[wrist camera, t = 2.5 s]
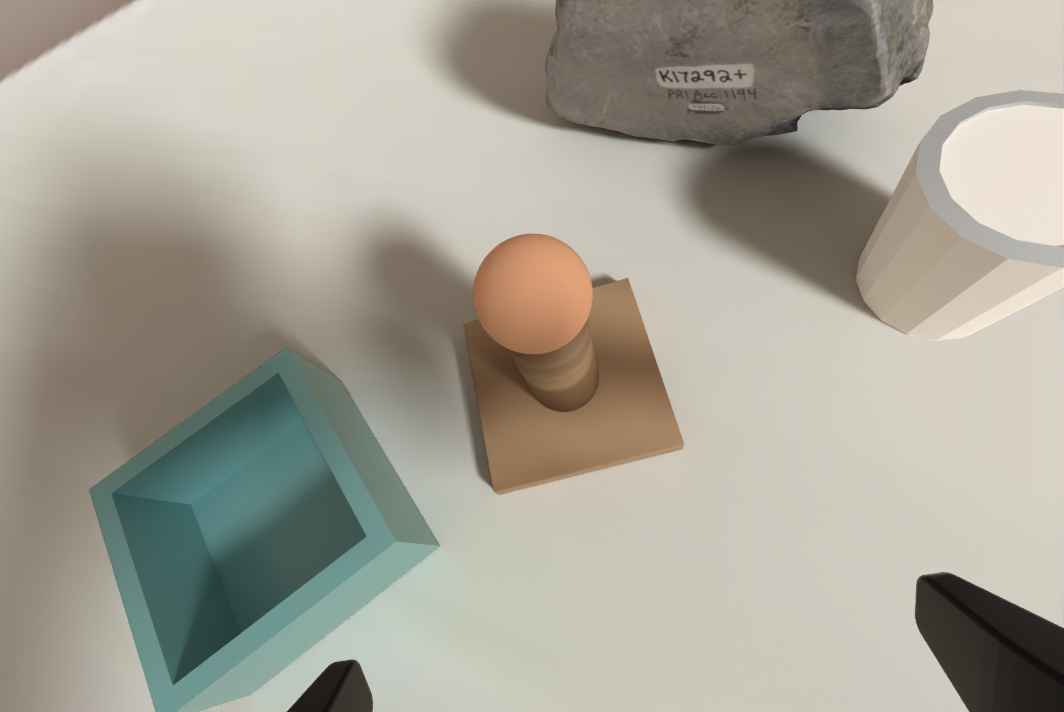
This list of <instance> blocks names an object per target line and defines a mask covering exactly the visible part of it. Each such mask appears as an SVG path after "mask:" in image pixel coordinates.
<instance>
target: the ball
mask: <svg viewBox="0 0 1064 712" xmlns="http://www.w3.org/2000/svg"><path fill="white" fill-rule="evenodd" d="M592 300H593V288H592V282H591V278H590V275H589V272H588V269H587V267H586V265H585V264H584V262H583V260H582V259H581V258H580V256H579V255H578V254H577V253H576V252H575V251H574V250H573V249H572V248H571V247H570V246H568V245H567V244H565V243H564V242H562V241H560V240H558V239H556V238H554V237H551V236H547V235H542V234H524V235H519V236H515V237H512V238H510V239H507V240H506V241H504V242H502V243H500V244H499V245H498V246H496V247H495V248H494V249H493V250H492V251H491V252H490V253H489V254H488V255H487V256H486V257H485V259H484V260H483V262H482V263H481V265H480V267H479V269H478V272H477V274H476V277H475V281H474V289H473V301H474V306H475V311H476V314H477V317H478V319H479V321H480V323H481V325H482V326H483V328H484V329H485V331H486V332H487V333H488V334H489V335H490V336H491V337H492V338H493V339H494V340H495V341H496V342H498V343H499V344H500V345H502V346H504V347H506V348H507V349H510V350H512V351H515V352H519V353H524V354H542V353H547V352H551V351H554V350H556V349H558V348H560V347H562V346H564V345H566V344H567V343H568V342H570V341H571V340H572V339H573V338H574V337H575V336H576V335H577V334H578V333H579V332H580V330H581V329H582V328H583V326H584V324H585V323H586V321H587V319H588V316H589V313H590V310H591V306H592Z"/></svg>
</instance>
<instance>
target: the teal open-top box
mask: <svg viewBox="0 0 1064 712" xmlns="http://www.w3.org/2000/svg"><path fill="white" fill-rule="evenodd" d="M89 491H90V495H91V498H92V501H93V505H94V508H95V511H96V515H97V518H98V521H99V525H100V528H101V531H102V535H103V538H104V541H105V545H106V548H107V551H108V555H109V558H110V561H111V565H112V568H113V571H114V575H115V578H116V581H117V585H118V588H119V591H120V595H121V598H122V601H123V605H124V608H125V611H126V615H127V618H128V621H129V625H130V628H131V631H132V635H133V638H134V641H135V645H136V648H137V651H138V655H139V658H140V661H141V664H142V668H143V671H144V674H145V678H146V681H147V684H148V688H149V691H150V694H151V698H152V701H153V704H154V708H155V711H156V712H199V711H202V710H205V709H208V708H211V707H214V706H217V705H220V704H223V703H226V702H229V701H232V700H235V699H238V698H241V697H244V696H247V695H250V694H252V693H253V692H254V691H256V690H257V689H258V688H259V687H261V686H262V685H263V684H265V683H266V682H267V681H268V680H270V679H271V678H272V677H273V676H275V675H276V674H277V673H279V672H280V671H281V670H282V669H284V668H285V667H286V666H288V665H289V664H290V663H291V662H293V661H294V660H295V659H296V658H298V657H299V656H300V655H302V654H303V653H304V652H305V651H307V650H308V649H309V648H311V647H312V646H313V645H314V644H316V643H317V642H318V641H319V640H321V639H322V638H323V637H325V636H326V635H327V634H328V633H330V632H331V631H332V630H334V629H335V628H336V627H337V626H339V625H340V624H341V623H342V622H344V621H345V620H346V619H348V618H349V617H350V616H351V615H353V614H354V613H355V612H356V611H358V610H359V609H360V608H362V607H363V606H364V605H365V604H367V603H368V602H369V601H371V600H372V599H373V598H374V597H376V596H377V595H378V594H379V593H381V592H382V591H383V590H385V589H386V588H387V587H388V586H390V585H391V584H392V583H394V582H395V581H396V580H397V579H399V578H400V577H401V576H402V575H404V574H405V573H406V572H408V571H409V570H410V569H411V568H413V567H414V566H415V565H417V564H418V563H419V562H420V561H422V560H423V559H424V558H425V557H427V556H428V555H429V554H431V553H432V552H433V551H434V550H436V549H437V548H438V547H440V545H439V543H438V541H437V540H436V538H435V536H434V535H433V533H432V531H431V530H430V528H429V526H428V525H427V523H426V521H425V520H424V518H423V516H422V515H421V513H420V511H419V510H418V508H417V506H416V505H415V503H414V501H413V500H412V498H411V496H410V495H409V493H408V491H407V490H406V488H405V486H404V485H403V483H402V481H401V480H400V478H399V476H398V475H397V473H396V471H395V470H394V468H393V466H392V465H391V463H390V461H389V460H388V458H387V456H386V454H385V453H384V451H383V449H382V448H381V446H380V444H379V443H378V441H377V439H376V438H375V436H374V434H373V433H372V431H371V429H370V428H369V426H368V424H367V423H366V421H365V419H364V418H363V416H362V414H361V413H360V411H359V409H358V408H357V406H356V404H355V403H354V401H353V399H352V398H351V396H350V394H349V393H348V391H347V389H346V388H345V386H344V384H343V383H342V381H340V380H339V379H337V378H335V377H334V376H332V375H331V374H329V373H328V372H326V371H324V370H323V369H321V368H320V367H318V366H316V365H315V364H313V363H312V362H310V361H308V360H307V359H305V358H304V357H302V356H301V355H299V354H297V353H296V352H294V351H293V350H291V349H289V348H288V347H286V348H285V349H284V350H282V351H281V352H279V353H278V354H277V355H275V356H274V357H272V358H271V359H270V360H268V361H267V362H265V363H264V364H263V365H261V366H260V367H259V368H257V369H256V370H254V371H253V372H252V373H250V374H249V375H247V376H246V377H245V378H243V379H242V380H240V381H239V382H238V383H236V384H235V385H234V386H232V387H231V388H229V389H228V390H227V391H225V392H224V393H222V394H221V395H220V396H218V397H217V398H216V399H214V400H213V401H211V402H210V403H209V404H207V405H206V406H204V407H203V408H202V409H200V410H199V411H197V412H196V413H195V414H193V415H192V416H191V417H189V418H188V419H186V420H185V421H184V422H182V423H181V424H179V425H178V426H177V427H175V428H174V429H172V430H171V431H170V432H168V433H167V434H166V435H164V436H163V437H161V438H160V439H159V440H157V441H156V442H154V443H153V444H152V445H150V446H149V447H147V448H146V449H145V450H143V451H142V452H141V453H139V454H138V455H136V456H135V457H134V458H132V459H131V460H129V461H128V462H127V463H125V464H124V465H122V466H121V467H120V468H118V469H117V470H116V471H114V472H113V473H111V474H110V475H109V476H107V477H106V478H104V479H103V480H102V481H100V482H99V483H98V484H96V485H95V486H93V487H92V488H91V489H89Z"/></svg>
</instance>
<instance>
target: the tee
mask: <svg viewBox="0 0 1064 712" xmlns="http://www.w3.org/2000/svg"><path fill="white" fill-rule="evenodd" d="M464 329H465V335H466V340H467V346H468V351H469V357H470V362H471V368H472V374H473V379H474V385H475V390H476V396H477V401H478V407H479V413H480V418H481V424H482V429H483V435H484V440H485V446H486V451H487V457H488V463H489V468H490V474H491V479H492V485H493V490H494V492H495V493H497V494H499V495H500V494H504V493H508V492H512V491H516V490H520V489H524V488H528V487H532V486H536V485H540V484H544V483H548V482H552V481H556V480H560V479H564V478H568V477H572V476H576V475H580V474H584V473H588V472H592V471H596V470H600V469H604V468H608V467H612V466H616V465H620V464H624V463H628V462H632V461H636V460H640V459H644V458H648V457H652V456H656V455H660V454H664V453H668V452H672V451H676V450H680V449H682V447H683V445H684V443H683V440H682V437H681V434H680V431H679V428H678V425H677V422H676V419H675V416H674V413H673V410H672V407H671V404H670V401H669V398H668V395H667V392H666V389H665V386H664V383H663V380H662V377H661V374H660V372H659V369H658V366H657V363H656V360H655V357H654V354H653V351H652V348H651V345H650V342H649V339H648V336H647V333H646V330H645V327H644V324H643V321H642V318H641V315H640V312H639V309H638V306H637V303H636V300H635V297H634V295H633V292H632V289H631V286H630V283H629V280H628V278H626V279H622V280H619V281H615V282H612V283H608V284H605V285H601V286H597V287H594V288H593V300H592V306H591V310H590V313H589V316H588V319H587V321H586V323H585V324H584V326H583V328H582V329H581V330H580V332H579V333H578V334H577V335H576V336H575V337H574V338H573V339H572V340H571V341H570V342H568V343H567V344H566V345H564V346H562V347H560V348H558V349H556V350H554V351H551V352H547V353H542V354H524V353H519V352H515V351H512V350H510V349H507V348H506V347H504V346H502V345H500V344H499V343H498V342H496V341H495V340H494V339H493V338H492V337H491V336H490V335H489V334H488V333H487V332H486V331H485V329H484V328H483V326H482V325H481V323H480V321H479V320H476V321H473V322H469V323H466V324H464Z"/></svg>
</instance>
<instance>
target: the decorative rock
mask: <svg viewBox="0 0 1064 712" xmlns="http://www.w3.org/2000/svg"><path fill="white" fill-rule="evenodd" d="M932 12H933V0H556V9H555V13H556V20H557V26H558V30H557V31H556V33H555V35H554V37H553V39H552V42H551V46H550V49H549V52H548V55H547V58H546V62H545V70H546V73H547V82H548V92H547V95H546V102H547V104H548V107H549V108H550V109H551V110H552V111H553V112H554V113H555V114H556V115H557V116H560V117H562V118H564V119H566V120H568V121H571V122H573V123H576V124H584V125H589V126H593V127H601V128H606V129H610V130H615V131H620V132H622V133H625V134H627V135H631V136H636V137H646V138H654V139H662V140H668V141H678V140H692V141H697V142H702V143H709V144H724V145H731V144H736V143H741V142H745V141H748V140H751V139H753V138H757V137H762V136H771V135H779V134H785V133H790V132H794V131H797V122H798V120H799V119H800V117H801V115H802V114H804V113H806V112H808V111H811V110H846V109H869V108H875V107H878V106H880V105H881V104H883V103H884V102H886V101H887V100H889V99H890V98H891V97H893V95H894V94H895V92H896V91H897V90H898V87H899V86H900V85H903V84H905V83H909V82H911V81H913V80H915V79H917V78H918V76H919V74H920V73H921V71H922V67H923V63H924V60H925V56H926V51H927V48H928V43H929V37H930V33H929V28H928V23H929V20H930V18H931V15H932Z"/></svg>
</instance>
